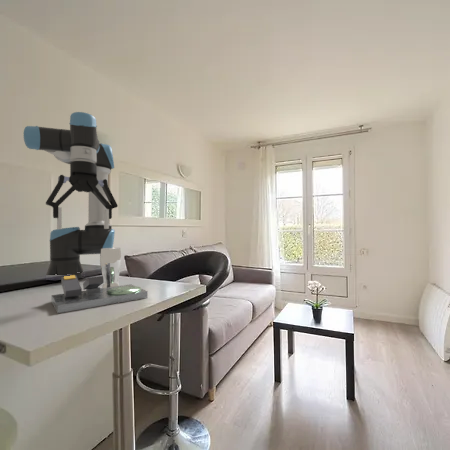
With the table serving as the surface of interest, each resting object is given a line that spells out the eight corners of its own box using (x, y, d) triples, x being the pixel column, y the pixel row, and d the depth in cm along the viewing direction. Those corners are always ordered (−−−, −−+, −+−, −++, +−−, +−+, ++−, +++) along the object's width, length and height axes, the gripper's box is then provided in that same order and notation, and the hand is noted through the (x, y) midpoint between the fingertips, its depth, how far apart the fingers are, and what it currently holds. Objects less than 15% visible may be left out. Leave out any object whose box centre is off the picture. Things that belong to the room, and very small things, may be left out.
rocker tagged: (61, 282, 82) (61, 275, 81) (75, 281, 84) (76, 274, 84) (65, 297, 75) (65, 290, 75) (81, 295, 78) (81, 287, 77)
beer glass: (108, 287, 100) (108, 247, 100) (125, 288, 99) (124, 247, 99) (95, 291, 93) (95, 248, 94) (113, 292, 92) (113, 248, 92)
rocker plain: (83, 289, 85) (83, 283, 86) (97, 287, 88) (96, 281, 88) (89, 284, 78) (88, 277, 79) (103, 282, 81) (103, 276, 81)
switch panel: (51, 301, 81) (51, 290, 81) (131, 289, 95) (131, 280, 96) (57, 313, 69) (57, 300, 69) (147, 297, 84) (147, 286, 84)
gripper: (37, 153, 75) (37, 229, 74) (126, 166, 91) (127, 228, 90) (34, 159, 80) (35, 229, 80) (119, 170, 96) (119, 228, 96)
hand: (84, 229), depth 85 cm, fingers open, 13 cm apart
